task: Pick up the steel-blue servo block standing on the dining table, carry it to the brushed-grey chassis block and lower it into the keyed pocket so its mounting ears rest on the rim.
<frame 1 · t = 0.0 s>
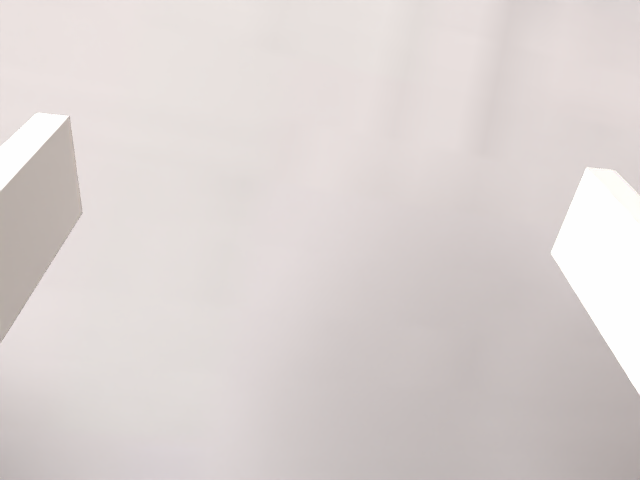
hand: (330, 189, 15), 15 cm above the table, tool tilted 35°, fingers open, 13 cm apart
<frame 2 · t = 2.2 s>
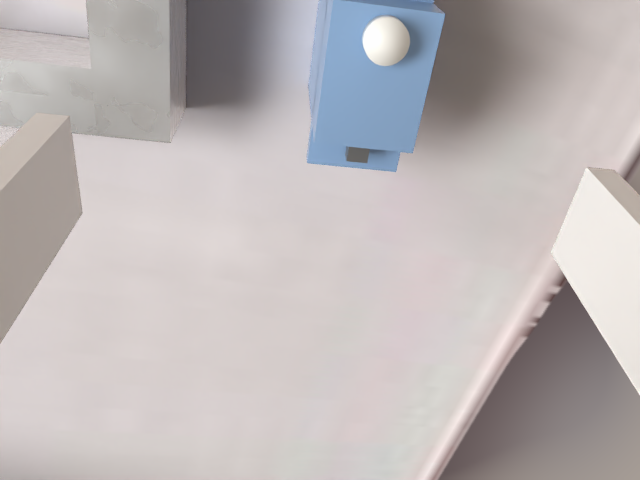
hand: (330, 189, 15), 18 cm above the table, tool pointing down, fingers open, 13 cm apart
servo: (356, 37, 31), on the table
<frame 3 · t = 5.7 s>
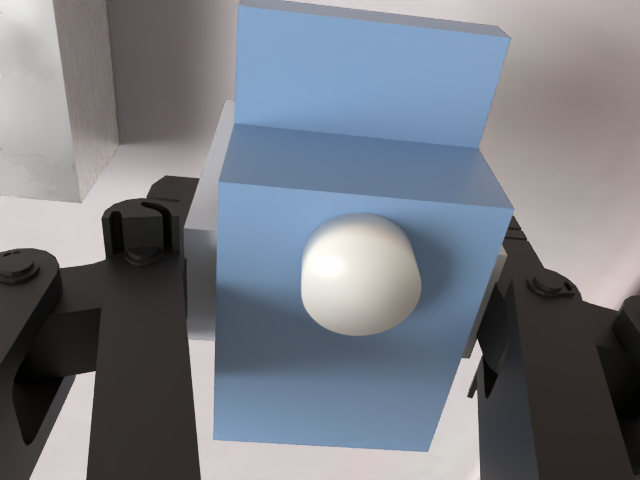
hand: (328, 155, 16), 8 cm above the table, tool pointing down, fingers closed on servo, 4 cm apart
servo: (327, 150, 17), point 8 cm above the table, touching gripper
when the fingers open (0 cm above the table, at t = 9.5 s): servo stays where it is, resting on chassis.
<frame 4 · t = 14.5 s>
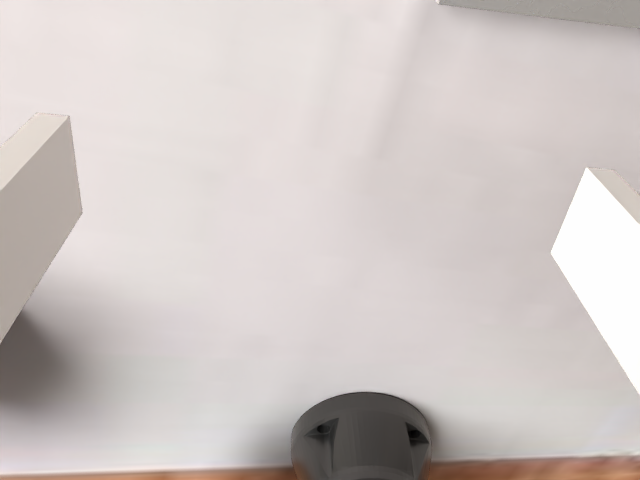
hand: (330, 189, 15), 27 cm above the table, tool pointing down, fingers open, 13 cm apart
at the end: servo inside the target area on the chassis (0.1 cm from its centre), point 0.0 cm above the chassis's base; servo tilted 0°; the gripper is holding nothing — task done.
